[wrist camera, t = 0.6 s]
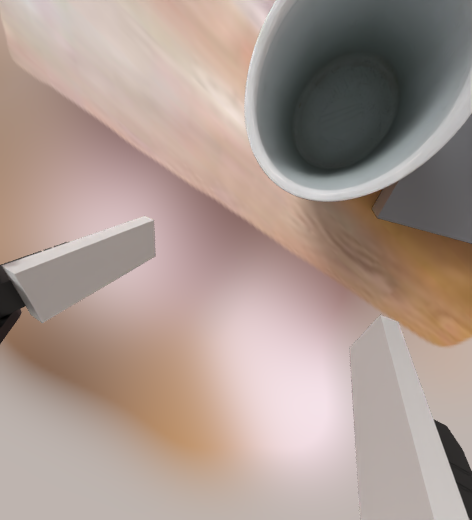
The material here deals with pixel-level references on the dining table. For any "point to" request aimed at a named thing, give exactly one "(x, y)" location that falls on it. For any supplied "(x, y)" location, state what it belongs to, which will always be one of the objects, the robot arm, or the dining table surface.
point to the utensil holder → (356, 91)
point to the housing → (435, 192)
